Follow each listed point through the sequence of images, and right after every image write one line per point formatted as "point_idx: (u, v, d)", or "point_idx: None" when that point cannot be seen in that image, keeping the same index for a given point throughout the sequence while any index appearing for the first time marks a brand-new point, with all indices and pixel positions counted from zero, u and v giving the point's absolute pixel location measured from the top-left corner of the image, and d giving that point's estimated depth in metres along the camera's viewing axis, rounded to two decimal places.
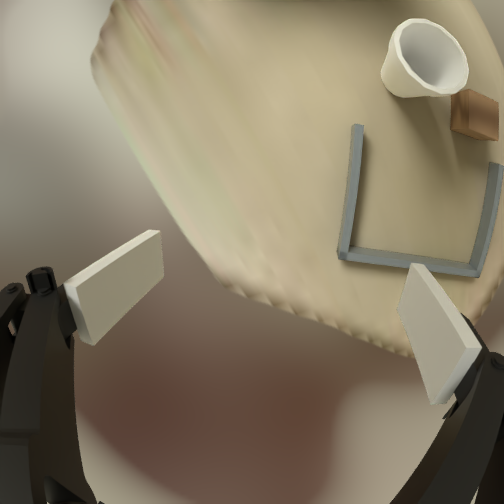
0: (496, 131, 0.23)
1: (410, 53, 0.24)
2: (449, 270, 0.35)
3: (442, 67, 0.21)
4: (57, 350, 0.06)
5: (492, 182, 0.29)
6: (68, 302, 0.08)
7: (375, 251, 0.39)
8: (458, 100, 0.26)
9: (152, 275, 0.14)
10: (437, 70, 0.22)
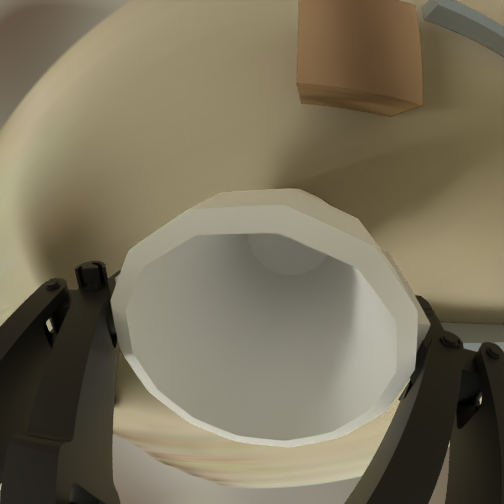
0: (392, 4, 0.07)
1: (230, 240, 0.16)
2: None
3: None
4: (102, 350, 0.07)
5: (468, 27, 0.09)
6: None
7: None
8: (324, 98, 0.13)
9: None
10: None
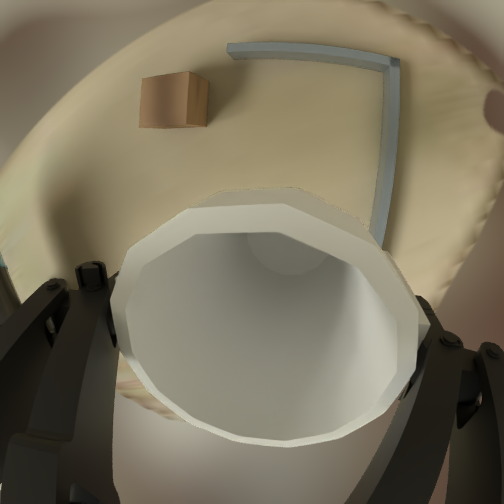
0: (177, 76, 0.24)
1: (230, 240, 0.16)
2: (394, 116, 0.24)
3: None
4: (102, 350, 0.07)
5: (257, 54, 0.25)
6: None
7: (371, 227, 0.31)
8: (163, 127, 0.29)
9: None
10: None
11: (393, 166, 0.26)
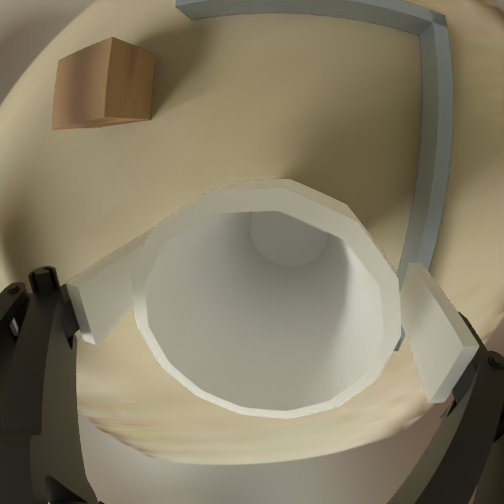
0: (98, 47, 0.12)
1: (234, 232, 0.17)
2: (446, 99, 0.12)
3: None
4: (59, 350, 0.06)
5: (223, 6, 0.14)
6: (71, 302, 0.09)
7: (400, 274, 0.19)
8: (89, 125, 0.18)
9: None
10: None
11: (445, 181, 0.14)
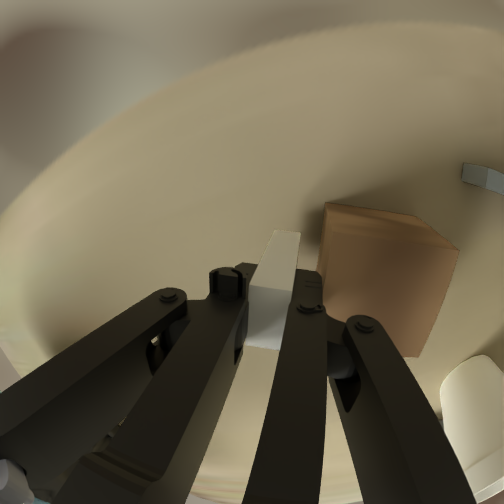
0: (434, 256, 0.10)
1: None
2: None
3: None
4: (223, 370, 0.07)
5: None
6: (249, 305, 0.10)
7: None
8: None
9: None
10: None
11: None
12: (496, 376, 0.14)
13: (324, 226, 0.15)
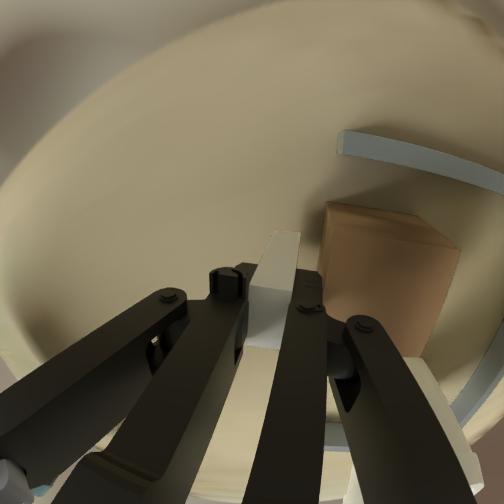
0: (435, 256, 0.10)
1: None
2: None
3: None
4: (223, 370, 0.07)
5: None
6: (249, 305, 0.10)
7: (461, 399, 0.18)
8: None
9: None
10: None
11: None
12: (419, 381, 0.15)
13: (325, 225, 0.15)
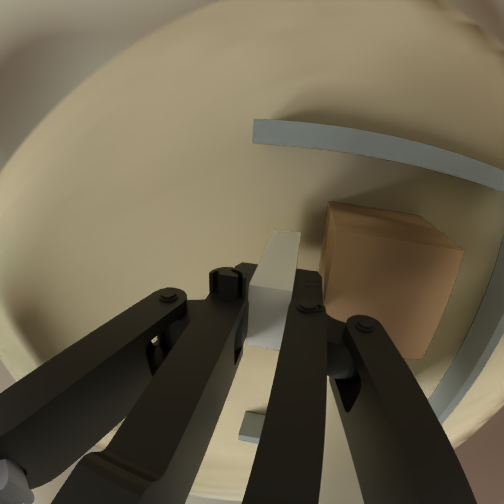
0: (439, 257, 0.09)
1: None
2: None
3: None
4: (223, 370, 0.07)
5: None
6: (249, 305, 0.10)
7: (432, 402, 0.19)
8: None
9: None
10: None
11: (488, 356, 0.13)
12: None
13: (327, 225, 0.15)
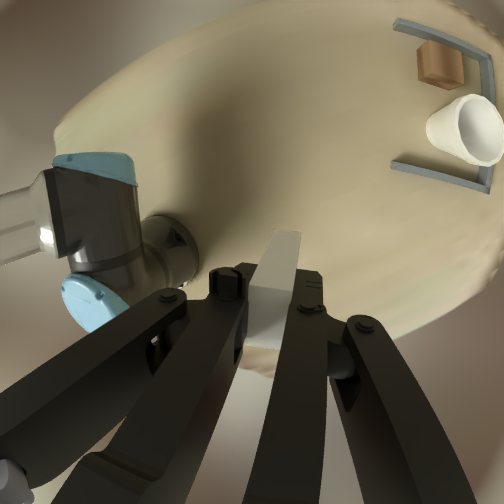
0: (454, 51, 0.23)
1: None
2: (492, 88, 0.25)
3: None
4: (223, 370, 0.07)
5: (413, 31, 0.26)
6: (249, 305, 0.10)
7: None
8: (431, 79, 0.28)
9: None
10: None
11: None
12: None
13: (420, 52, 0.28)
